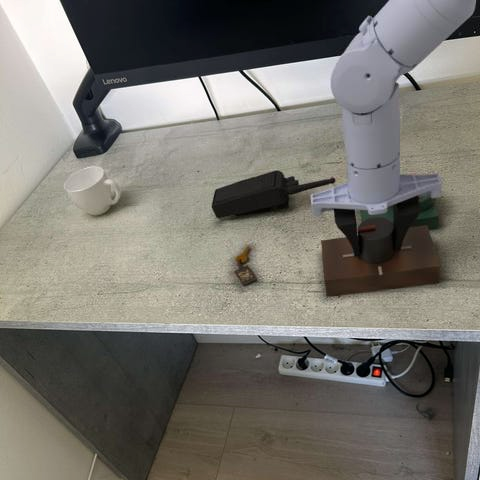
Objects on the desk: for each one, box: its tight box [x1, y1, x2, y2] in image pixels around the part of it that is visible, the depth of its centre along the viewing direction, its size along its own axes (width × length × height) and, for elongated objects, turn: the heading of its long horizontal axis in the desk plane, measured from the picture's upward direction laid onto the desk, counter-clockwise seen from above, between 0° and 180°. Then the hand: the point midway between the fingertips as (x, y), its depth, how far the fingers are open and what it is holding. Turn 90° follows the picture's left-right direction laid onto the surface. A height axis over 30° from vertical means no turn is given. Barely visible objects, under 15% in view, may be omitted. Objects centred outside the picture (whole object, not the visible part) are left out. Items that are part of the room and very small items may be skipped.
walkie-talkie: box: [211, 170, 336, 219], centre depth 78 cm, size 6×6×20 cm
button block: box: [359, 195, 440, 230], centre depth 71 cm, size 10×9×4 cm
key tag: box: [234, 245, 258, 287], centre depth 72 cm, size 8×3×1 cm, turn 7°
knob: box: [357, 217, 394, 263], centre depth 62 cm, size 4×4×4 cm
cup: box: [63, 166, 122, 217], centre depth 90 cm, size 8×10×7 cm
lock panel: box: [320, 225, 441, 297], centre depth 64 cm, size 14×9×3 cm, turn 87°
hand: (376, 248), depth 63 cm, fingers closed on knob, 4 cm apart
